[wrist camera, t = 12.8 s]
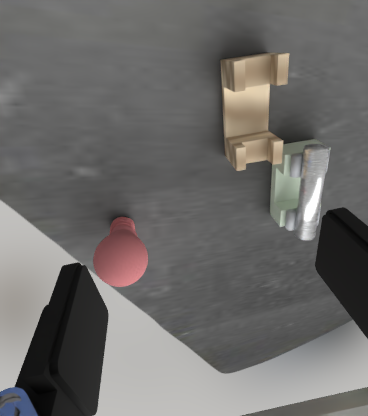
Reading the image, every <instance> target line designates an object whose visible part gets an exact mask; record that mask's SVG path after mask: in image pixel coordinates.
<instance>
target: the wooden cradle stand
mask: <svg viewBox="0 0 368 416" xmlns="http://www.w3.org/2000/svg"><path fill="white" fill-rule="evenodd" d="M288 64H289V53H262V54H256V55H249V56H242V57H236V58H229V59H223V60H221V81H222V101H223V122H224V143H225V156H226V157H227V159H228V160H229V161H230V163H231V164H232V165H233V167H234V168H235V169H236V171H239V170H245V169H246V163H252V162H258V161H264V160H268V161H269V162H270V163H271V164H273V165H274V164H280V163H282V152H283V140H281V139H280V138H278V137H277V136H275V135H274V134H272V133H271V132H269V131H268V117H269V90H270V84H273V85H276V86H278V85H284V84H287V78H288Z"/></svg>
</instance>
